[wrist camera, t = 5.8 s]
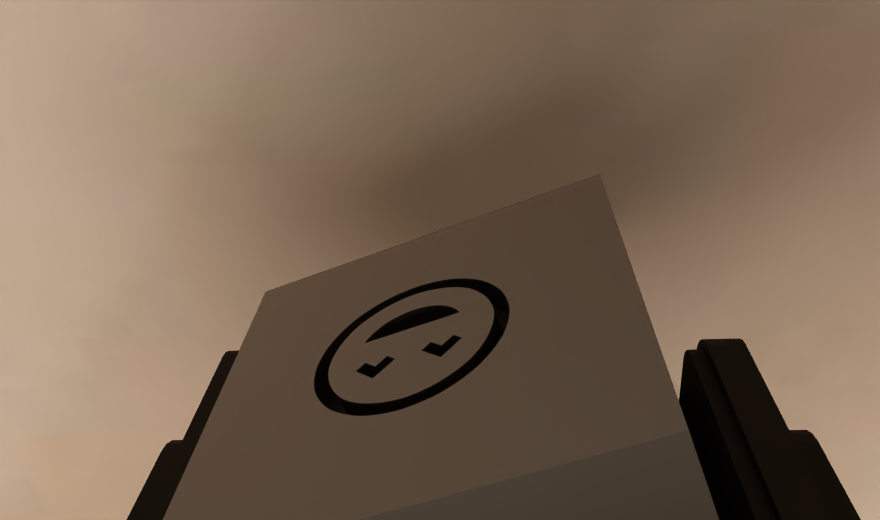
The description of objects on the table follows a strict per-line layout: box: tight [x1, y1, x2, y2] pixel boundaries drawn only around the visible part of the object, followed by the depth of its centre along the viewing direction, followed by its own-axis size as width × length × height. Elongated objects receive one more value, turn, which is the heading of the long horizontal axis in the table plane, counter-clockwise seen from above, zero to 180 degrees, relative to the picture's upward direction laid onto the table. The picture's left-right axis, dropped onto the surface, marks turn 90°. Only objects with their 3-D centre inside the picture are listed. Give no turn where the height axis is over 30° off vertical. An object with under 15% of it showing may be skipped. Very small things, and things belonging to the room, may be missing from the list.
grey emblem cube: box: [163, 175, 719, 520], centre depth 10 cm, size 5×5×5 cm
